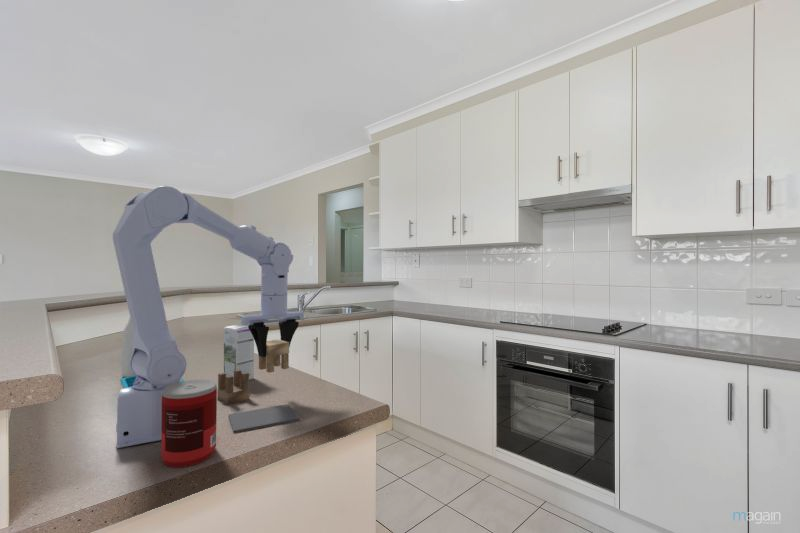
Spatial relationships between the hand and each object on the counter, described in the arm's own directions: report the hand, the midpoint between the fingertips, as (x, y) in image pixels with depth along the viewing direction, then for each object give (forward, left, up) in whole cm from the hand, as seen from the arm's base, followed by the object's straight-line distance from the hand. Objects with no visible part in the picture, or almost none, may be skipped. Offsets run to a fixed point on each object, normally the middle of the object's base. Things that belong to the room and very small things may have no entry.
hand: (273, 354), depth 86 cm
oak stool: (0, 0, -3) cm, 3 cm away
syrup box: (-5, +20, -11) cm, 23 cm away
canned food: (-17, -21, -11) cm, 29 cm away
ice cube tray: (-24, +17, -11) cm, 32 cm away
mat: (-4, -11, -10) cm, 15 cm away
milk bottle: (-29, +39, -11) cm, 50 cm away
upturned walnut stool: (-8, +4, -10) cm, 14 cm away
